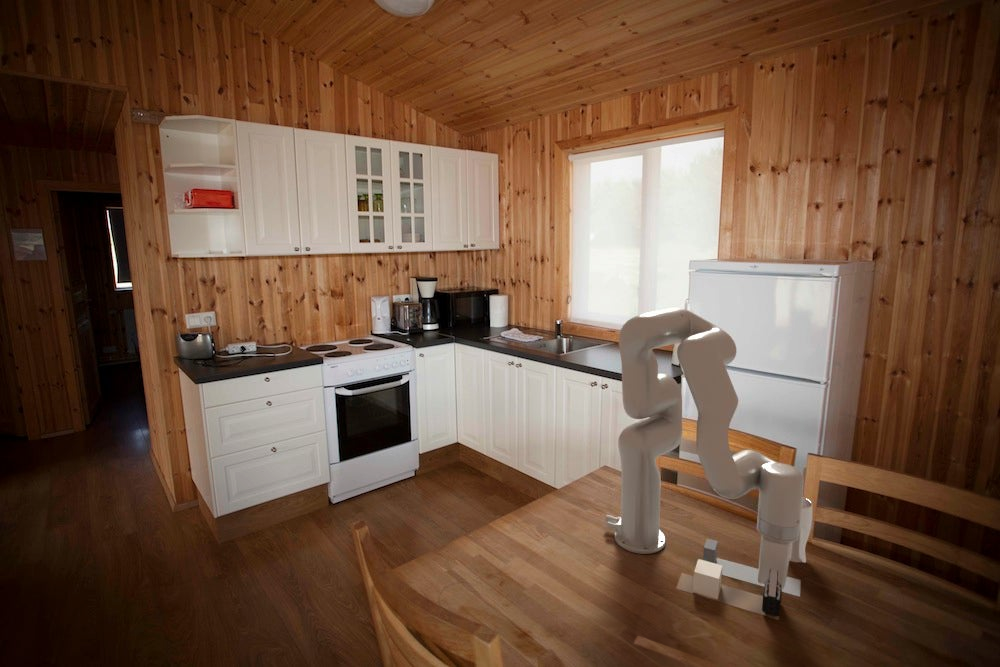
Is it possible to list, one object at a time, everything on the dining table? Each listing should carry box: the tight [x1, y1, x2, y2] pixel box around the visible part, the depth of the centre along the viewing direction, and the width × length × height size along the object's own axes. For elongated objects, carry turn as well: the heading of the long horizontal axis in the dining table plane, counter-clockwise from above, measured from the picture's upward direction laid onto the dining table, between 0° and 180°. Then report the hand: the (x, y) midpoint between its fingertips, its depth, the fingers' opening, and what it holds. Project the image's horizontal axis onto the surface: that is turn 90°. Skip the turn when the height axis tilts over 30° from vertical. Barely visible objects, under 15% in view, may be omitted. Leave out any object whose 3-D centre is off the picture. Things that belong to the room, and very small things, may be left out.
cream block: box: [693, 558, 723, 600], centre depth 114 cm, size 5×5×5 cm
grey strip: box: [702, 538, 801, 597], centre depth 119 cm, size 20×6×6 cm, turn 60°
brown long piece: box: [675, 572, 780, 621], centre depth 112 cm, size 20×6×6 cm, turn 60°
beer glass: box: [789, 496, 813, 563], centre depth 124 cm, size 7×7×15 cm
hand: (771, 605), depth 108 cm, fingers closed on brown long piece, 4 cm apart
